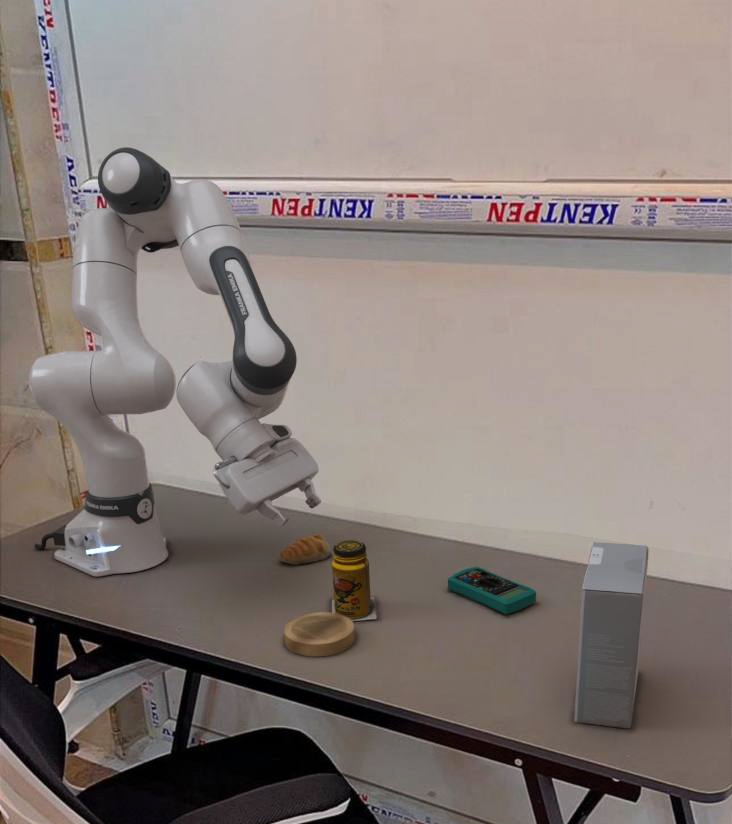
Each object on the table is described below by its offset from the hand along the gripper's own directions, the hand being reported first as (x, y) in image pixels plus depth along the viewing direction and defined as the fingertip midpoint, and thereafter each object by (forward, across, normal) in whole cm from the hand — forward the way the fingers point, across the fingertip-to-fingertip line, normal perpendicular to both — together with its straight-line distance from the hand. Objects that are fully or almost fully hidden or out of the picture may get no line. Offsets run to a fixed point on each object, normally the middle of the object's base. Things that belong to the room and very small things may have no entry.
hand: (301, 514), depth 160 cm
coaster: (+18, -12, +3) cm, 22 cm away
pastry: (+4, +15, +18) cm, 23 cm away
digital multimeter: (+31, +14, -9) cm, 35 cm away
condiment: (+18, -1, +4) cm, 18 cm away
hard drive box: (+50, -9, -28) cm, 59 cm away
